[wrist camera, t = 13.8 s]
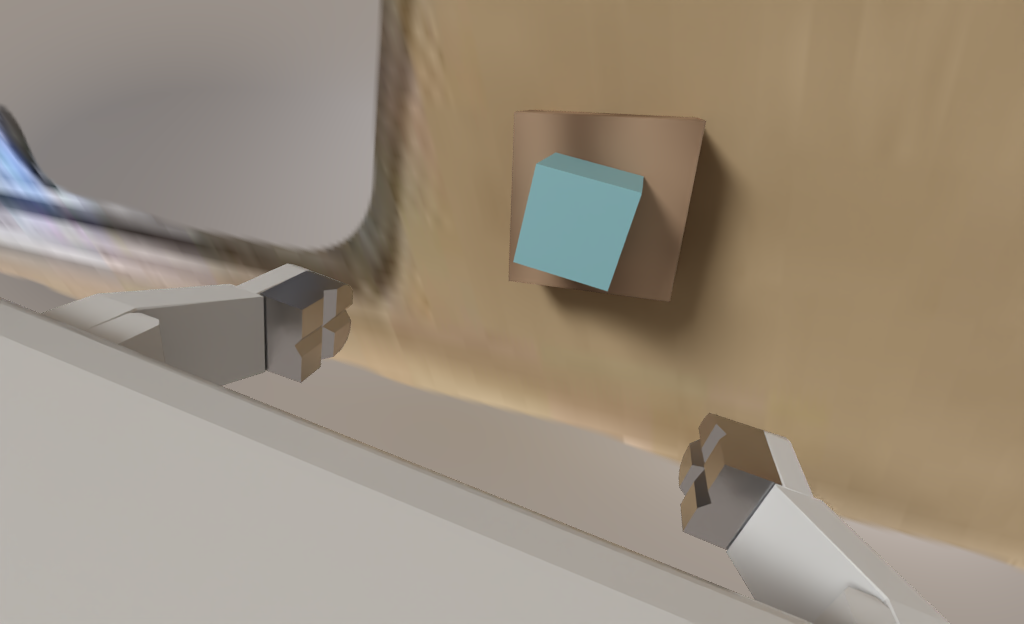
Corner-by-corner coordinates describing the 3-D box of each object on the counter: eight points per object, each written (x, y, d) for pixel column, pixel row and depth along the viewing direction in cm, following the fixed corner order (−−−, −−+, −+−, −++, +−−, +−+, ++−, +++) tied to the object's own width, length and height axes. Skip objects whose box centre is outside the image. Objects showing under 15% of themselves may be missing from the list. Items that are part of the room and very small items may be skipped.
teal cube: (643, 176, 25) (642, 192, 21) (614, 260, 27) (607, 291, 23) (555, 152, 26) (536, 163, 21) (534, 236, 28) (512, 261, 24)
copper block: (696, 117, 28) (706, 120, 23) (666, 273, 32) (669, 301, 28) (533, 109, 30) (514, 111, 25) (526, 257, 34) (508, 280, 30)
